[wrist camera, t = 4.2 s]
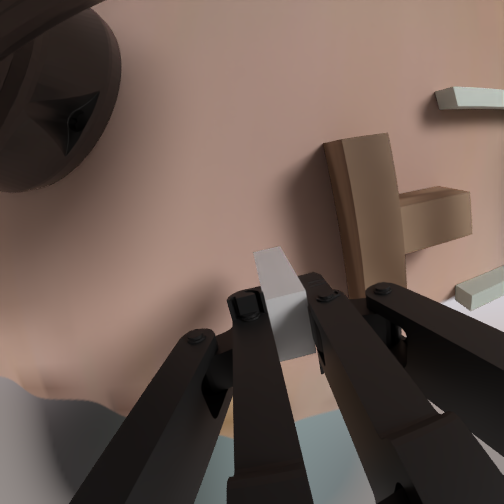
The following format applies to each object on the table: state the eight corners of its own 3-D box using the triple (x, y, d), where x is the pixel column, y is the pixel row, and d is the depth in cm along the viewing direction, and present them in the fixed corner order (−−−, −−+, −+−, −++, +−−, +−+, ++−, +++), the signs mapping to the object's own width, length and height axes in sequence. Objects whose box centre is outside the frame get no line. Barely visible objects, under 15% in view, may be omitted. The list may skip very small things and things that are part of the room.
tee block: (349, 303, 23) (368, 328, 19) (322, 143, 20) (341, 139, 16) (443, 274, 23) (471, 291, 19) (429, 129, 20) (460, 125, 16)
